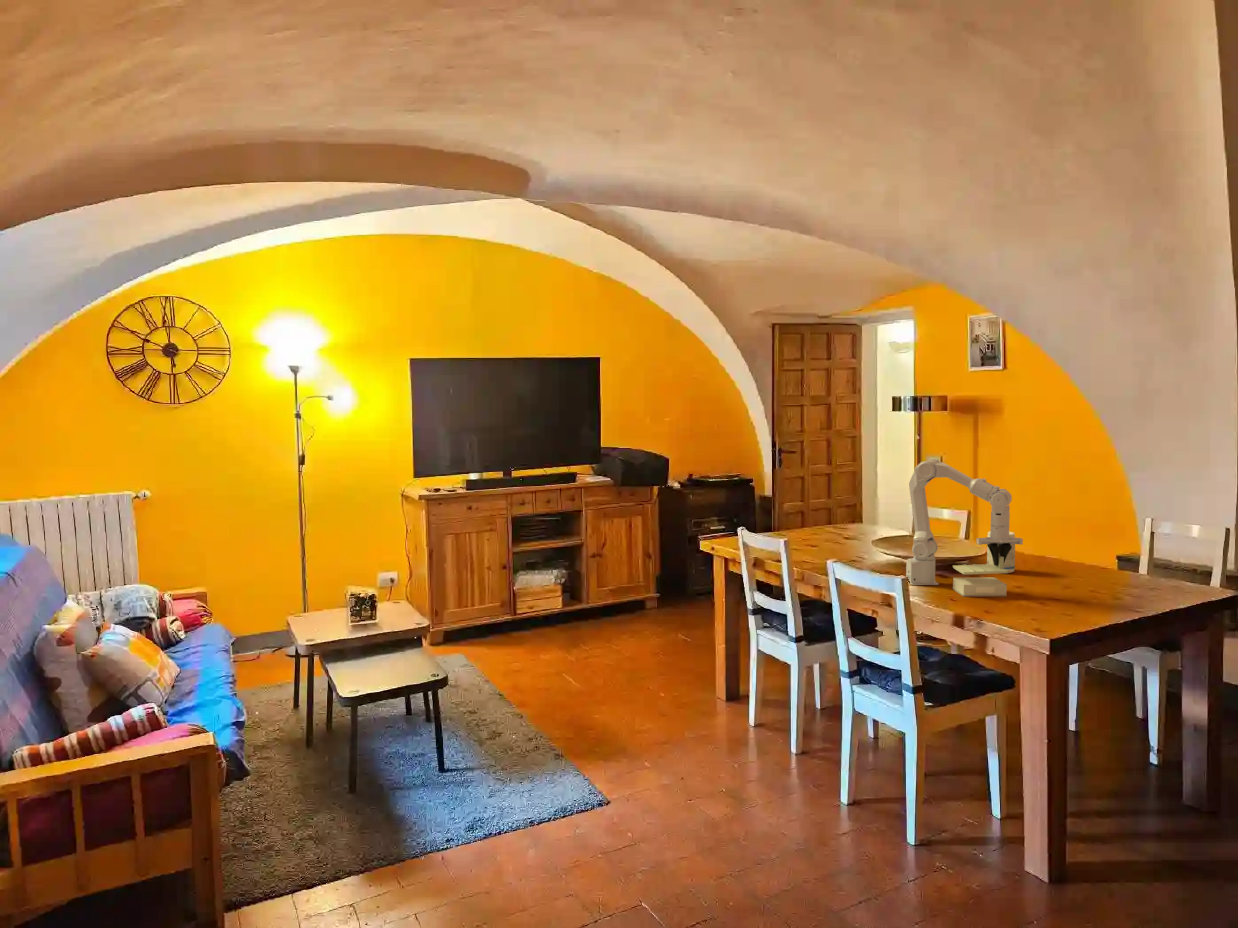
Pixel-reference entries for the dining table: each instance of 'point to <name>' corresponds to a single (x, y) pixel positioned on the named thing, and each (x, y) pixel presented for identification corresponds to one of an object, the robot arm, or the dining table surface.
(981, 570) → the lid
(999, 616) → the dining table surface
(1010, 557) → the supplement tub
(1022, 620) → the dining table surface
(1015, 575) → the dining table surface
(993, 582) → the block
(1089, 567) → the dining table surface
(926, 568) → the robot arm
